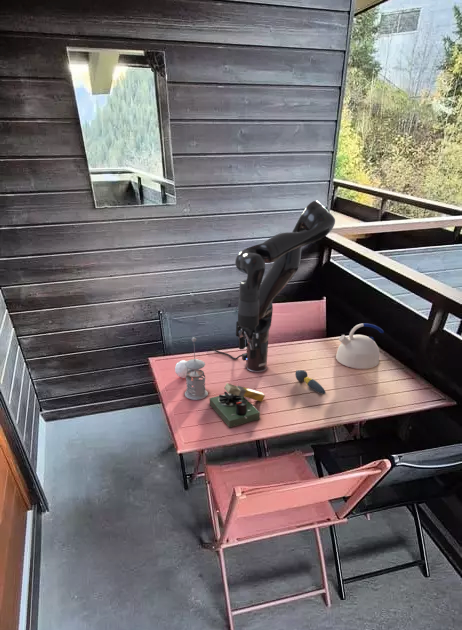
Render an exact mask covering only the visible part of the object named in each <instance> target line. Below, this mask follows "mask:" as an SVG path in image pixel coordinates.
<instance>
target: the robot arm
mask: <svg viewBox="0 0 462 630" xmlns="http://www.w3.org/2000/svg"><path fill="white" fill-rule="evenodd" d="M335 225H336V218H335V216H334V215H333V214H332V213H331V212H330V211H329V210H328V209H327V208H326V207H325V206H324V205H323V204H322V203H321V202H320V201H318V200H312V201H311V202H310V203H309V204H307V205H306V207H305V208H304V210H302V212H301V214H300V216H299V218H298V219H297V222H296V223H295V226H294V228H293V229H292V231H291V232H290V231H288V232H280V233H277V234H275V235H273V236H272V237H270V238H268V239H266V240H265V241H264V242H261V243H258V244H254V245H251V246H248V247H247V248H244V249H242V250H241V251H240V252H239V253H238V254H237V256H236V258H235V260H234V262H235V267H236V270H238V271H239V272H241V273H243V274H245V275H246V279H245V280H242V281H240V283H239V287H238V288H239V289H238V302H237V304H238V305H237V321H236V323H235V336H236V337H237V340H238V349H239V350H240V351H241V350H244V349H245V348H246V352H245V353H241V354H239V355H238V356H237V357H233V355H231V354H230V353H226V352H223V351H219V350H217V349H216V348H214V347H210V348H209V349H208V350H209V351H211V350H213V351H214V352H216V353H218V354H221V355H224V356H227V357H229V358H231V359H232V360H234V361H235V360H238V359H239V358H241V359H242V361H245V367H246V368H245V369H246V370H247V371H249V372H251V373H254V374H255V373H258V374H259V373H264V372H266V370H268V366H267V365H268V351H269V335H270V328H271V326H272V321H273V320H272V319H273V310H274V308H273V300H274V299H275V298H276V296H277V295H278V294H279V293H280V292H281V291H282V290H283V289H285V287H286V286H287V285H288V284H289V283H290V282H291V280H292V279H293V277H294V276H295V274H296V273H297V272H298V270H299V268H300V264H301V256H302V248H303V247H305V246H307V245H310V244H313V243H315V242H318V241H320V240H322V239H323V238H325V237H326V236H327V235H329V234H330V233H331V232H332V230H333V228H334V227H335ZM266 264H272V265H271V267H270V268H269V269H268V271H267V273H266V275H265V276H264V274H265V271H266ZM246 343H247V346H246Z"/></svg>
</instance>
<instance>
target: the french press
mask: <svg viewBox="0 0 462 630" xmlns="http://www.w3.org/2000/svg"><path fill="white" fill-rule="evenodd" d="M196 341H197V338H196V337H192V338H191V342H196ZM195 345H196V344H195V343H193V355H194V356H193V357H194V358H193V359H189V360H186V361H187V362H186V363H185V366H186V367H187V373H186V374H187V375H186V378H185V380H186V381H185V383H186V384H185V385H186V390H185V392H184V397H185V398H187V399H189V400H193V401H199V400H203V399H205V398H207V397H208V394H209V392H208V391H207V390H206V375H205V371H204V370H202V369H203V368H204V367H205V366H206V362H204V360H201V359H198V358H196V348H195V347H196V346H195ZM188 368H189V369H192V370H189V371H188Z"/></svg>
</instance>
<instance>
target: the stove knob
mask: <svg viewBox="0 0 462 630" xmlns="http://www.w3.org/2000/svg"><path fill="white" fill-rule="evenodd" d="M246 413H247V402H246V401H245V400H238V401H237V402H236V414H237V415H241V416H242V415H245V414H246Z"/></svg>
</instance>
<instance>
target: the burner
mask: <svg viewBox="0 0 462 630" xmlns="http://www.w3.org/2000/svg"><path fill="white" fill-rule="evenodd" d="M218 396H219V403H220V404H221V405H223V406H226V407H235V406H236V402H237V401H238V400H241V397H240V396H237V395H234V394H228V392H227V391H224V393H223V394H219V395H218Z"/></svg>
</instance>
